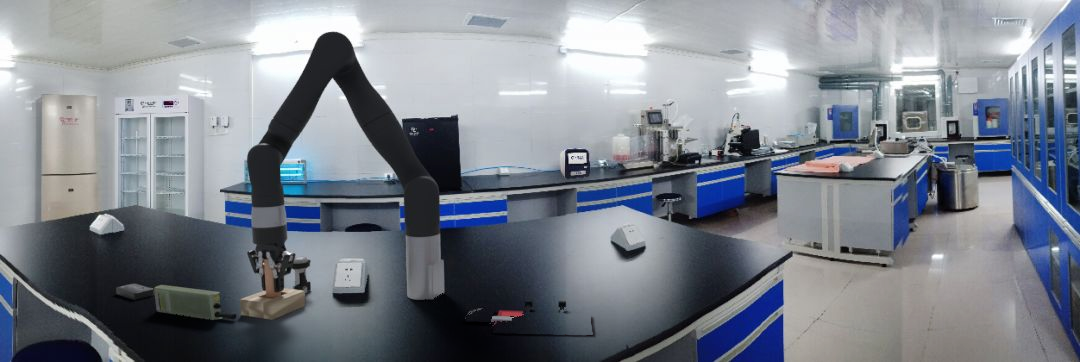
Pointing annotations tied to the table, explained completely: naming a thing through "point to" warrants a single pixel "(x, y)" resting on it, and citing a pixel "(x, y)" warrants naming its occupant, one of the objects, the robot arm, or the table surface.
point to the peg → (270, 281)
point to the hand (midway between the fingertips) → (273, 290)
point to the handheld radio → (189, 302)
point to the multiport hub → (134, 291)
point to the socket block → (272, 304)
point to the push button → (301, 274)
